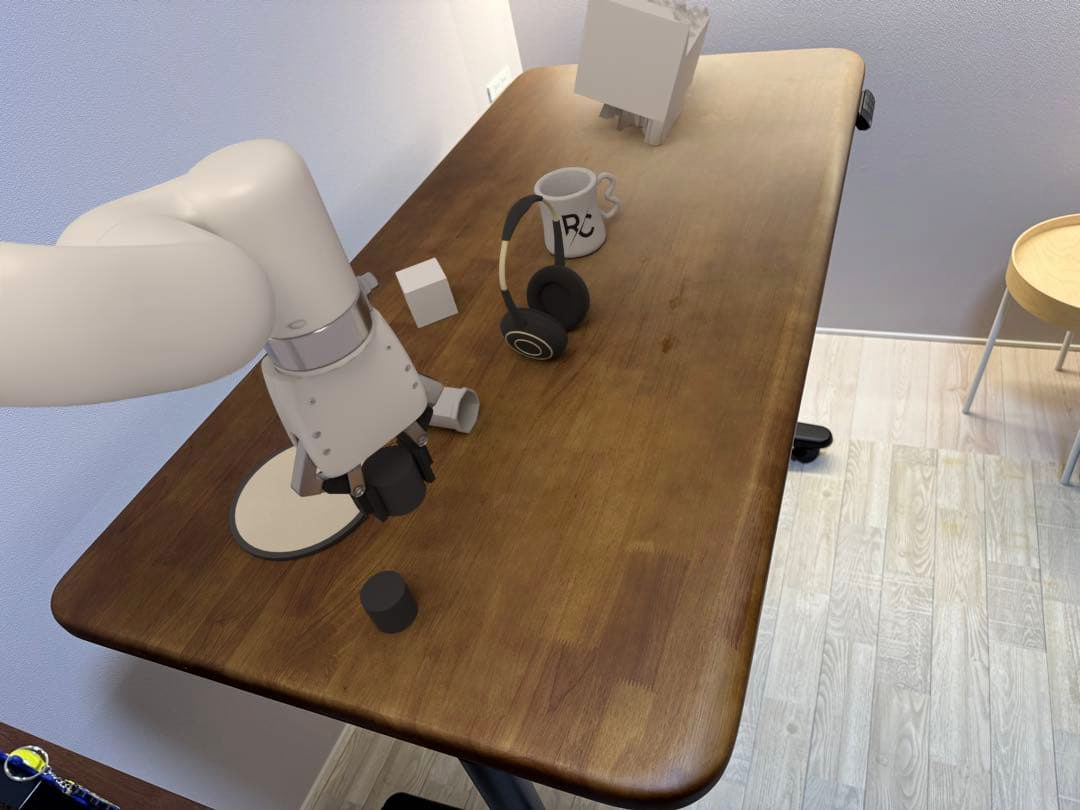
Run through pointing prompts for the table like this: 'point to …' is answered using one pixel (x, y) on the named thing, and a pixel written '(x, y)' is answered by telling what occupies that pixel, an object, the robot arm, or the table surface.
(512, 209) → the headphones
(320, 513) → the face circle
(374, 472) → the eye dot
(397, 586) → the eye dot
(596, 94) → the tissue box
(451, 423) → the tube
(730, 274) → the table surface
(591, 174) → the mug
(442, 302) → the white cube
